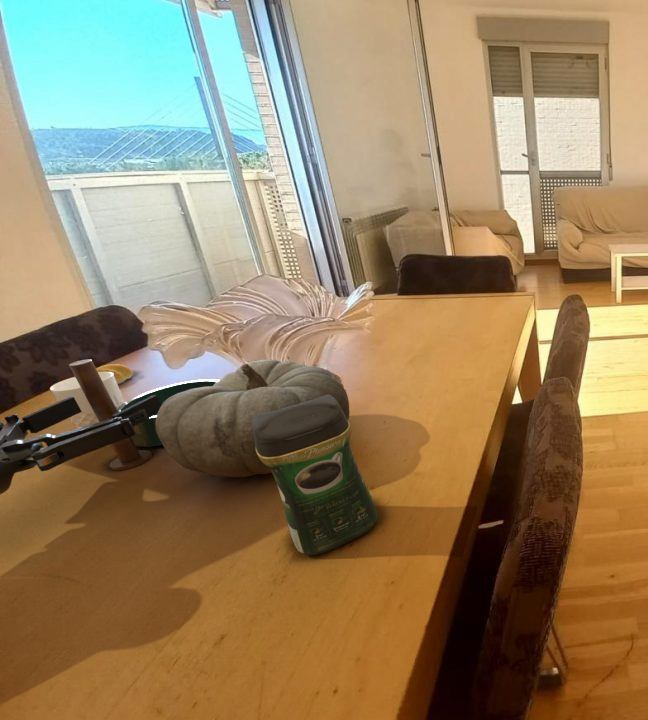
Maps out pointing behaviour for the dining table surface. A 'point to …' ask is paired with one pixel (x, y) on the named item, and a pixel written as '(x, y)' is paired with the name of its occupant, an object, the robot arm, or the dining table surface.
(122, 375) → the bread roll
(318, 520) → the coffee jar
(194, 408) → the gourd
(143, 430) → the bowl
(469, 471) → the dining table surface
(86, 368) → the stirring stick
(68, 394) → the white cup
